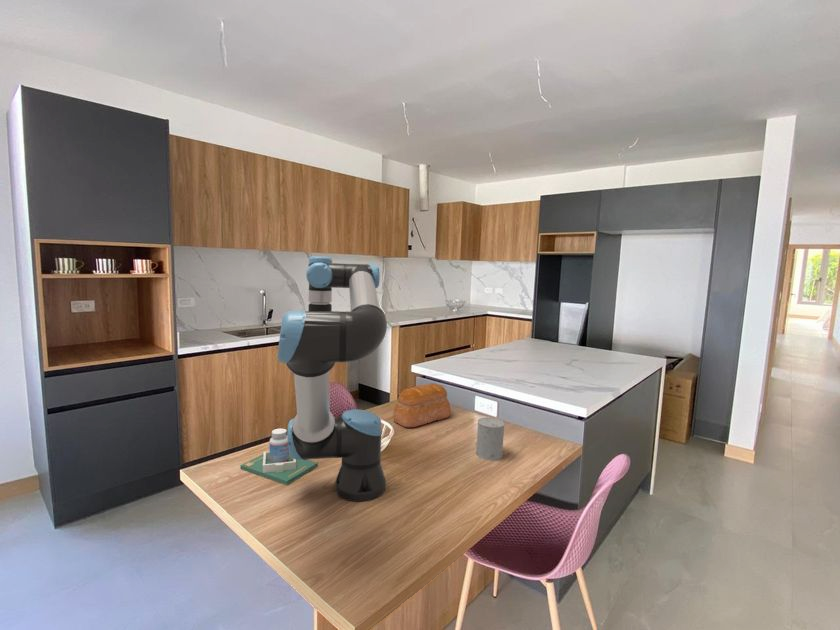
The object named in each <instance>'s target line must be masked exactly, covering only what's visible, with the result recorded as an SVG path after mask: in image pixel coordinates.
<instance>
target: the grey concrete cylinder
mask: <svg viewBox="0 0 840 630" xmlns="http://www.w3.org/2000/svg"><path fill="white" fill-rule="evenodd" d="M504 433H505V422H504V421H503V420H501V419H500V418H499V419H498V418H496V417H481V418H479V419H478V420H477V433H476V435H477V436H476V450H475V451H476V452H475V454H477V455H476V456H477V457H478V456H479V457H478V458H480V459H482V458H483V459H482V460H485V459H486V461H491V460H493V461H499V460H501V459H502V458H503V449H504Z"/></svg>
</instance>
